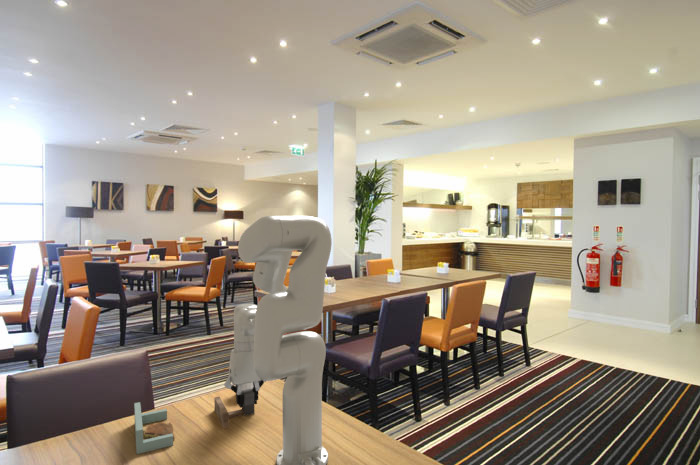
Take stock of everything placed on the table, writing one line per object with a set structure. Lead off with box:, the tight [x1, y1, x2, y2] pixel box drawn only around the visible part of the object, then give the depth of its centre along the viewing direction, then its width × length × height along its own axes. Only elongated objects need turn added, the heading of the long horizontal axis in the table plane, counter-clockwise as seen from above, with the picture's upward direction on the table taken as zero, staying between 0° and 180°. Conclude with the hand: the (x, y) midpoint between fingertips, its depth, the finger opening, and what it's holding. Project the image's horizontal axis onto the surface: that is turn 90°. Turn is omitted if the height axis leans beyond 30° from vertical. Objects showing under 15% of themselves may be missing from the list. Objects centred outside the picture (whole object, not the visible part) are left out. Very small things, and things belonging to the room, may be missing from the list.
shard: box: [143, 421, 176, 442], centre depth 113 cm, size 11×8×2 cm
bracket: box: [133, 401, 174, 455], centre depth 114 cm, size 18×8×6 cm, turn 29°
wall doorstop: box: [214, 389, 255, 429], centre depth 125 cm, size 13×10×6 cm
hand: (247, 403), depth 126 cm, fingers open, 3 cm apart
